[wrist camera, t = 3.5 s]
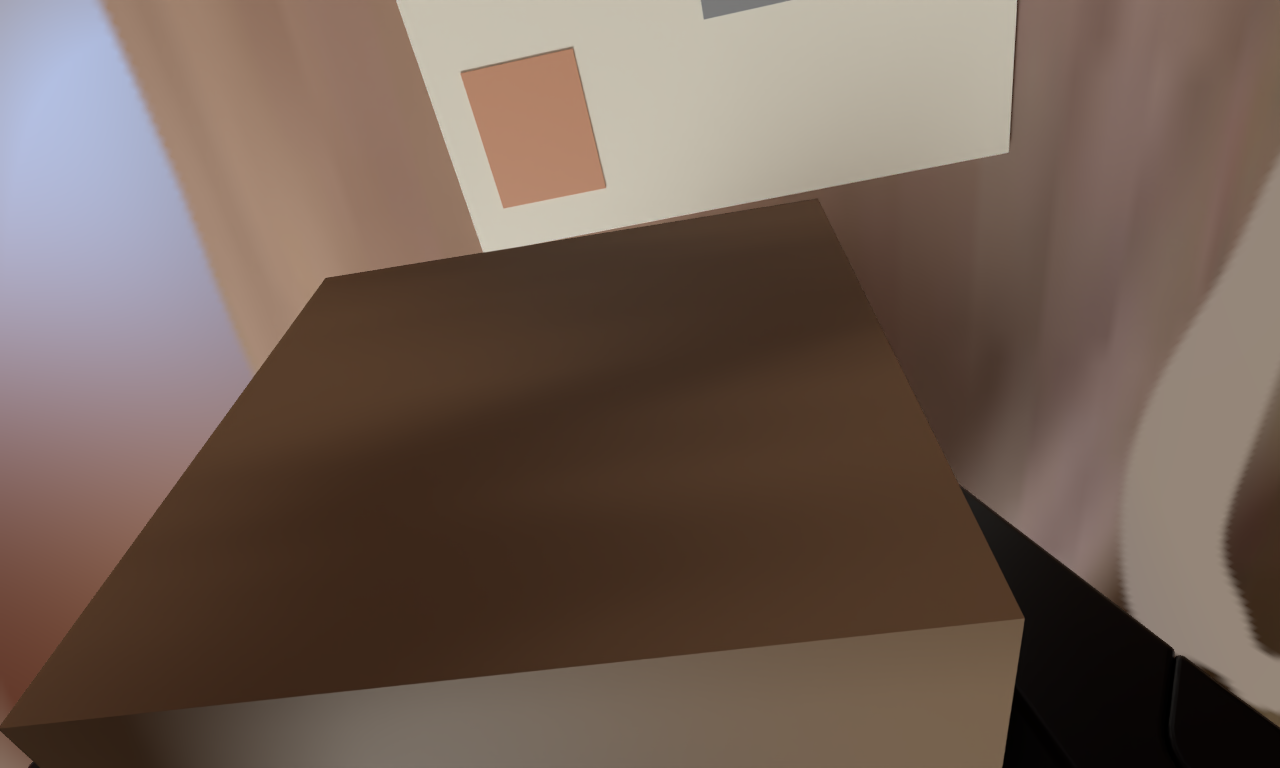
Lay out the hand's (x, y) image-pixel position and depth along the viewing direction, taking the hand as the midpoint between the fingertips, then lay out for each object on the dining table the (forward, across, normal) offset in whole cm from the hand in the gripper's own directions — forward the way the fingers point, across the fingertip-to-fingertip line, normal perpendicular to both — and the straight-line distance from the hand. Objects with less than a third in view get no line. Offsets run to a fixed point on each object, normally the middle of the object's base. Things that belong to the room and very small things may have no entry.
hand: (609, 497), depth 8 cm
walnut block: (+1, 0, 0) cm, 1 cm away
